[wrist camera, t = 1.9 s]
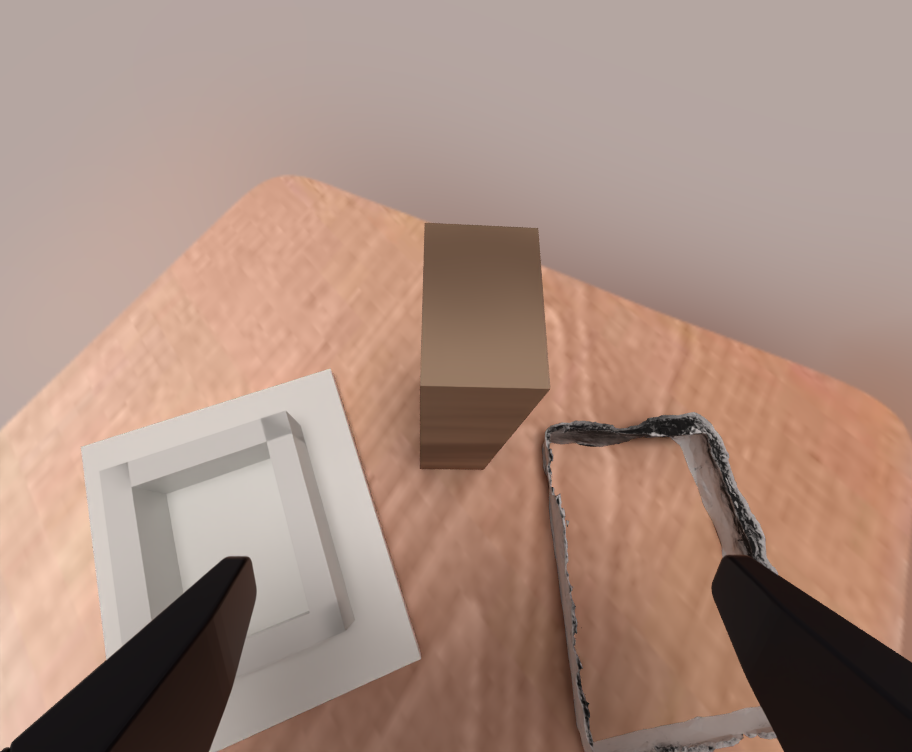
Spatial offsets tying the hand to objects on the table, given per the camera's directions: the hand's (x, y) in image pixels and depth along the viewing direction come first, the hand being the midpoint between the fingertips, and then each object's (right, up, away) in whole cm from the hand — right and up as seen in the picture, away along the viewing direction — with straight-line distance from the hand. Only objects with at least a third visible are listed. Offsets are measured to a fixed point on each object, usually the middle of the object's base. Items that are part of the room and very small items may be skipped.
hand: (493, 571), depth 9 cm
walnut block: (-1, +1, +14) cm, 14 cm away
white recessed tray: (-10, -4, +11) cm, 15 cm away
